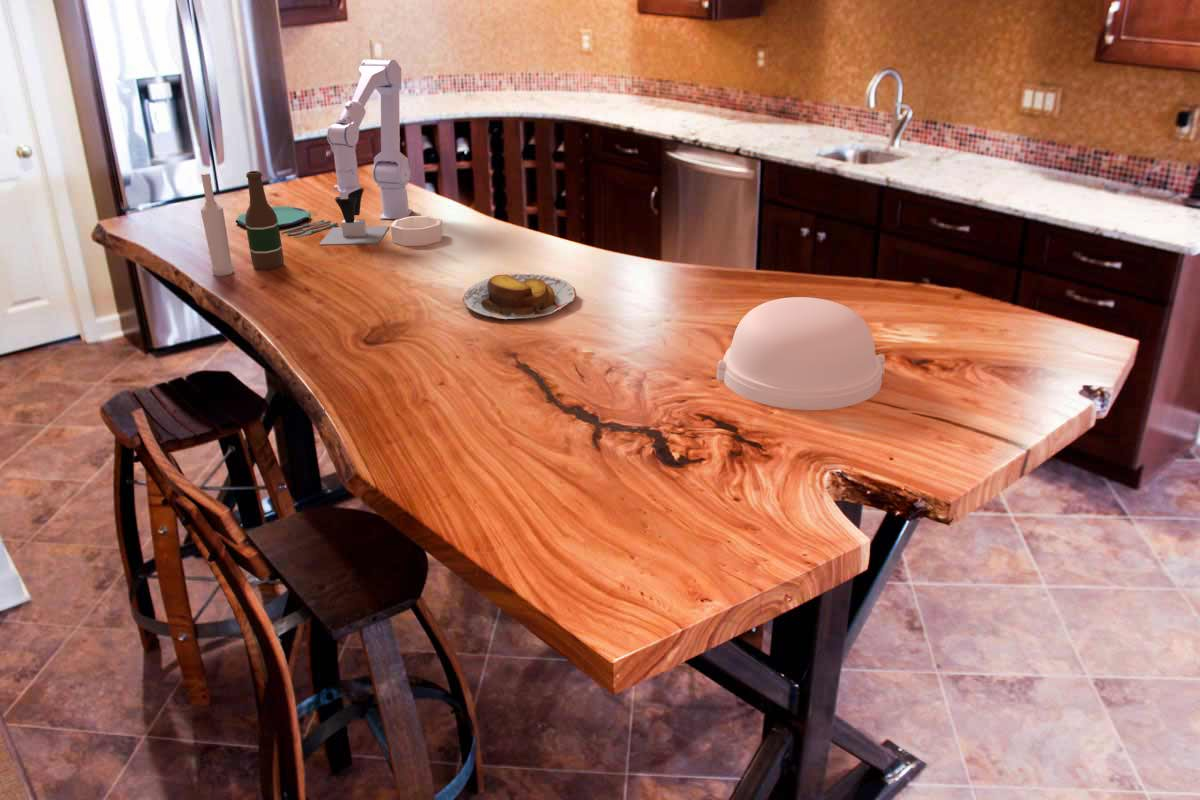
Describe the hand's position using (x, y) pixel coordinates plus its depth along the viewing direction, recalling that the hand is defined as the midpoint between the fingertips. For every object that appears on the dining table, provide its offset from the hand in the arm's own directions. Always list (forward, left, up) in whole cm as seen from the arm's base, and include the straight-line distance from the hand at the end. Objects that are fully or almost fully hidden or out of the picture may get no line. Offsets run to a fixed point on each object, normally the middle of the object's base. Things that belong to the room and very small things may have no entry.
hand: (352, 218), depth 289 cm
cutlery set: (-14, -23, -6) cm, 28 cm away
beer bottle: (+25, -17, -5) cm, 31 cm away
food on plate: (+57, +49, -6) cm, 75 cm away
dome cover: (+101, +105, -5) cm, 146 cm away
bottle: (+30, -27, -5) cm, 41 cm away
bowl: (+4, +18, -5) cm, 19 cm away
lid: (0, 0, -6) cm, 6 cm away
